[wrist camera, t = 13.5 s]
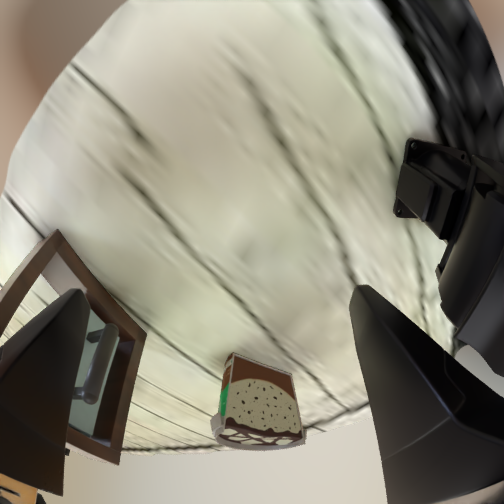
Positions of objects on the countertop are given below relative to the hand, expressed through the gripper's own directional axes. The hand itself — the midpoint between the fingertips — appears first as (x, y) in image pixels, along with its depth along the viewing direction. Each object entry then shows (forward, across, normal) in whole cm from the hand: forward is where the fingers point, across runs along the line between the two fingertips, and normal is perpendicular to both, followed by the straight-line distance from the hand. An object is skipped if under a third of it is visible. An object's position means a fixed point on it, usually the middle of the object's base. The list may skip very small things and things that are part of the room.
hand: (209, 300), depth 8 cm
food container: (+12, -1, +26) cm, 29 cm away
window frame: (+12, +15, +12) cm, 22 cm away
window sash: (+10, +12, +12) cm, 20 cm away
